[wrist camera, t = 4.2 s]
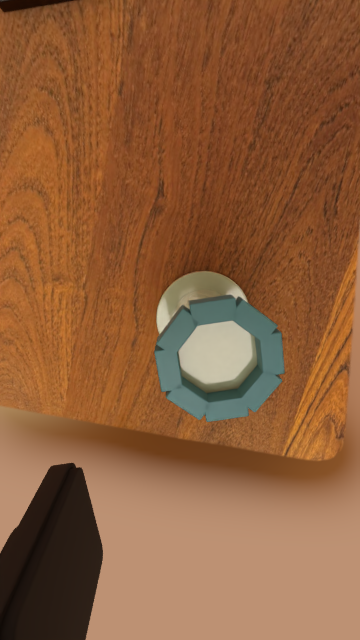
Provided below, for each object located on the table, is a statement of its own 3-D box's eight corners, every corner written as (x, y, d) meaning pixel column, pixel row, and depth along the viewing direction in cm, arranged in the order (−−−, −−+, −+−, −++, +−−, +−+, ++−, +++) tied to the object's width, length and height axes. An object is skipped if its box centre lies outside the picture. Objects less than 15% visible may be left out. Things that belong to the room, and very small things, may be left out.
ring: (271, 287, 17) (278, 290, 16) (281, 400, 19) (288, 410, 18) (148, 306, 18) (146, 310, 16) (168, 417, 19) (167, 428, 18)
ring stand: (243, 263, 27) (281, 275, 17) (252, 352, 29) (291, 408, 19) (149, 278, 27) (135, 297, 17) (164, 365, 29) (159, 427, 19)
